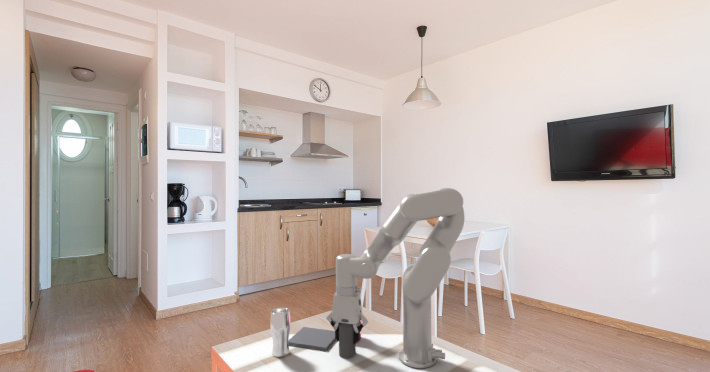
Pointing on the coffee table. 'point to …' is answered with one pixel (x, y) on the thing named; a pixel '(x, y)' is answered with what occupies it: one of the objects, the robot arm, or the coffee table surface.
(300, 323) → the coffee table surface
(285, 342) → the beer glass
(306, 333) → the mat
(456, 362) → the coffee table surface
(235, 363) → the coffee table surface
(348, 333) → the bottle
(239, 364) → the coffee table surface
